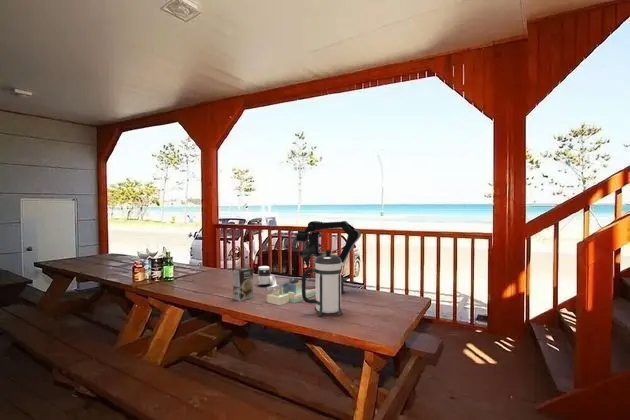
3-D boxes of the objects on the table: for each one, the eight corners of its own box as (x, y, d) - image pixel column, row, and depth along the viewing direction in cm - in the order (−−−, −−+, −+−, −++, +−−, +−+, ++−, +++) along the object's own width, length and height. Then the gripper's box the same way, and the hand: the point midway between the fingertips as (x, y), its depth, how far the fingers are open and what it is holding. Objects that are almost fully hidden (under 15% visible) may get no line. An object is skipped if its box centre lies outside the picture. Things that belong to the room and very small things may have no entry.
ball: (285, 295, 174) (281, 295, 171) (284, 301, 173) (280, 301, 171) (281, 294, 176) (277, 294, 173) (280, 300, 175) (276, 300, 173)
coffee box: (240, 301, 173) (240, 271, 173) (232, 299, 177) (232, 269, 177) (253, 297, 180) (253, 268, 180) (245, 295, 184) (245, 267, 184)
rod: (305, 289, 186) (305, 279, 186) (275, 299, 167) (275, 288, 167) (294, 287, 191) (294, 277, 191) (264, 297, 172) (264, 285, 172)
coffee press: (323, 305, 166) (323, 246, 165) (350, 311, 156) (350, 248, 155) (300, 314, 152) (300, 249, 152) (328, 322, 142) (328, 253, 142)
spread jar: (257, 284, 211) (256, 266, 211) (274, 282, 214) (274, 264, 214) (259, 288, 200) (259, 269, 199) (277, 287, 203) (277, 268, 203)
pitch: (317, 294, 186) (317, 285, 186) (284, 306, 164) (284, 296, 164) (295, 290, 195) (295, 281, 195) (262, 301, 173) (262, 291, 173)
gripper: (292, 242, 193) (293, 268, 194) (318, 244, 182) (318, 272, 182) (304, 240, 202) (304, 266, 203) (329, 242, 191) (329, 269, 191)
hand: (313, 268), depth 194 cm, fingers open, 9 cm apart
